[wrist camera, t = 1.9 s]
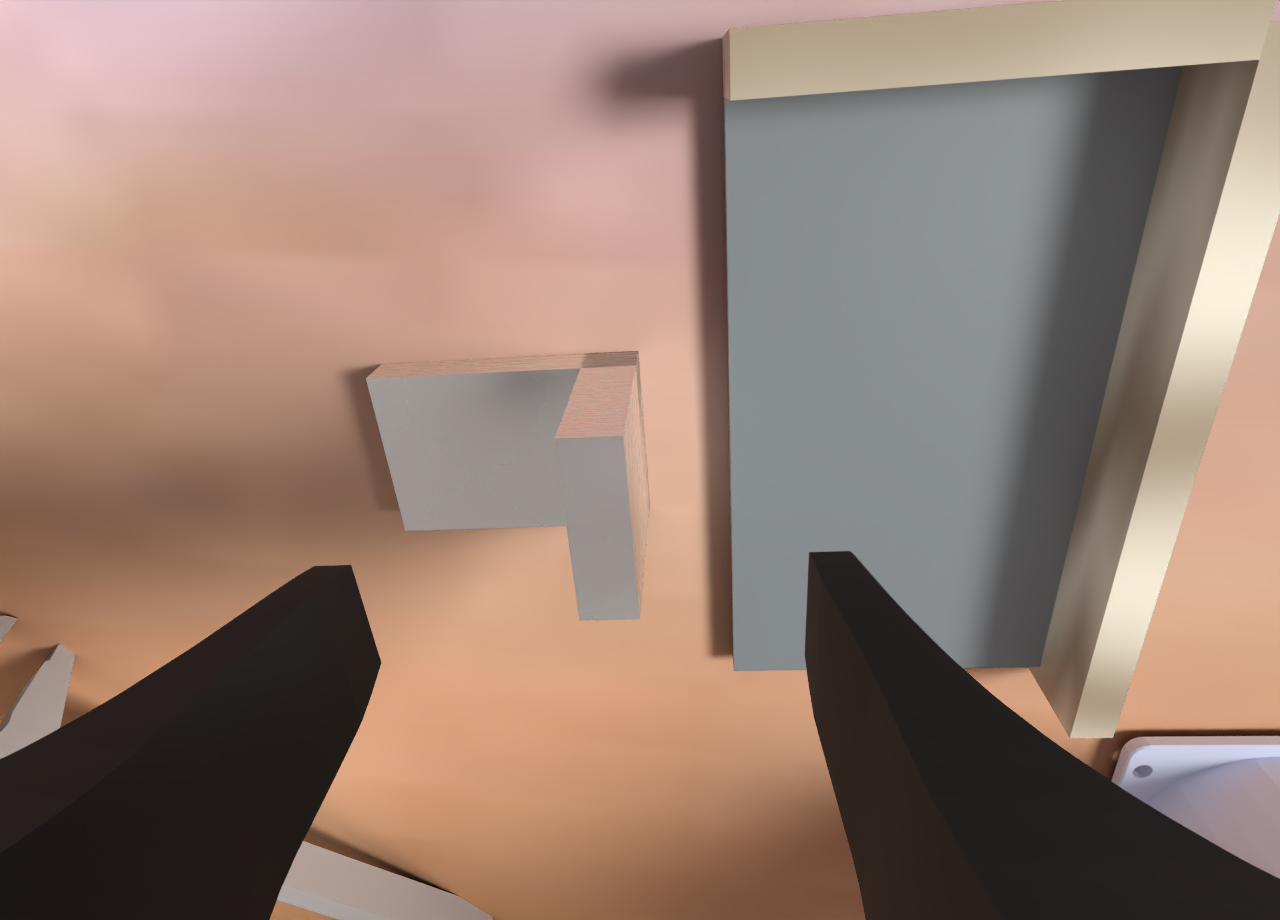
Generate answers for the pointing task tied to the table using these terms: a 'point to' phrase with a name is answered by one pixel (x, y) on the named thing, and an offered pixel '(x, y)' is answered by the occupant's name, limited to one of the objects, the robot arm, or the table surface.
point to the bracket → (527, 458)
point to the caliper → (318, 878)
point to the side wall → (989, 44)
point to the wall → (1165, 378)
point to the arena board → (926, 342)
